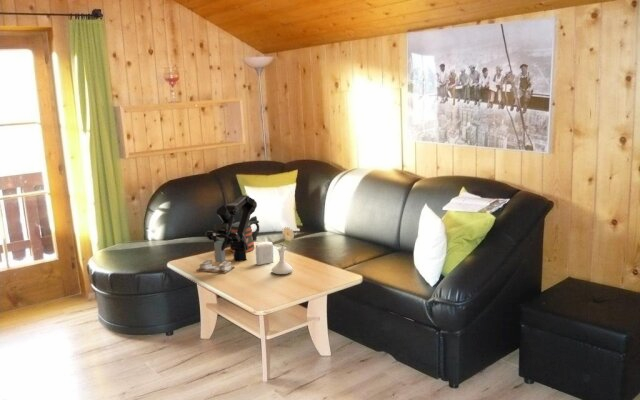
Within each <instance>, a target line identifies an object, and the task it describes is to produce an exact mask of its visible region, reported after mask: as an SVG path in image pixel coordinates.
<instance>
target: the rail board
mask: <svg viewBox="0 0 640 400" xmlns="http://www.w3.org/2000/svg"><path fill="white" fill-rule="evenodd" d="M234 269H235V266H232V262H231V261H224V262H223V263H220V264H219V265H218V264H213V260H212V259H205V260H203V261H201V262H200V263H199V268H197V269H196V272H203V273H213V274H224V275H225V274H226V275H227V274H228V273H229V272H231V271H233V270H234Z"/></svg>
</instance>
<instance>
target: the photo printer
mask: <svg viewBox="0 0 640 400" xmlns="http://www.w3.org/2000/svg"><path fill="white" fill-rule="evenodd" d="M255 261H256V262H255V263H256V265H258V266H260V265H266V264H271V263H274V244H273V242H271V241H263V242H259V243H257V244H255Z"/></svg>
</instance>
